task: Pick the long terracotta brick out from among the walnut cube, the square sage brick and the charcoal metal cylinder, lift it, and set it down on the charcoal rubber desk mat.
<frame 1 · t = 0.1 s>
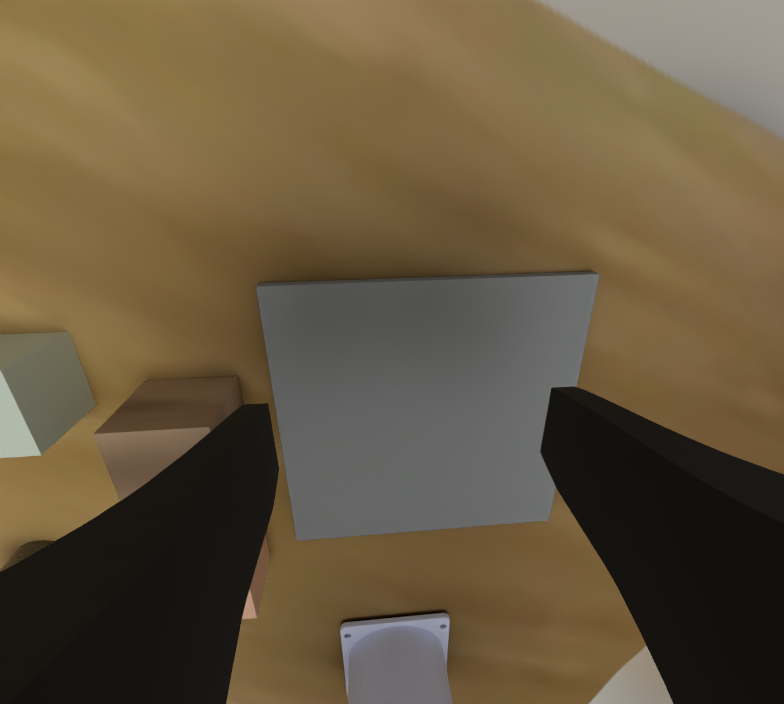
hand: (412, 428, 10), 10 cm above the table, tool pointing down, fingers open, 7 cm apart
metal cylinder: (52, 563, 24), on the table
terracotta brick: (230, 523, 24), on the table
walnut cube: (202, 414, 21), on the table
desk mat: (427, 418, 22), on the table
square sage brick: (40, 371, 19), on the table
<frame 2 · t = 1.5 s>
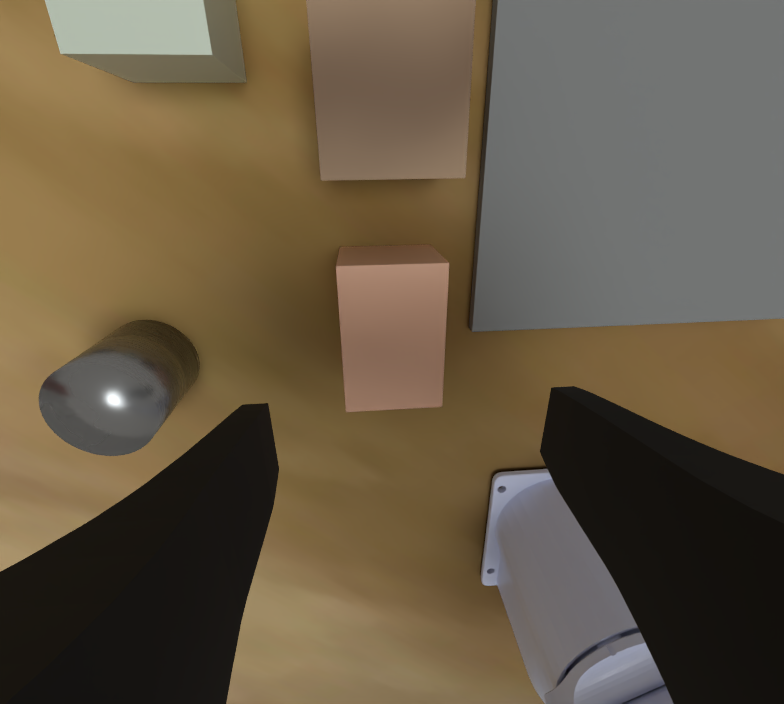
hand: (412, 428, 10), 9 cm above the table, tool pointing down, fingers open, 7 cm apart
metal cylinder: (155, 359, 19), on the table
terracotta brick: (386, 309, 19), on the table
walnut cube: (382, 114, 15), on the table
desk mat: (669, 140, 17), on the table
square sage brick: (178, 14, 14), on the table
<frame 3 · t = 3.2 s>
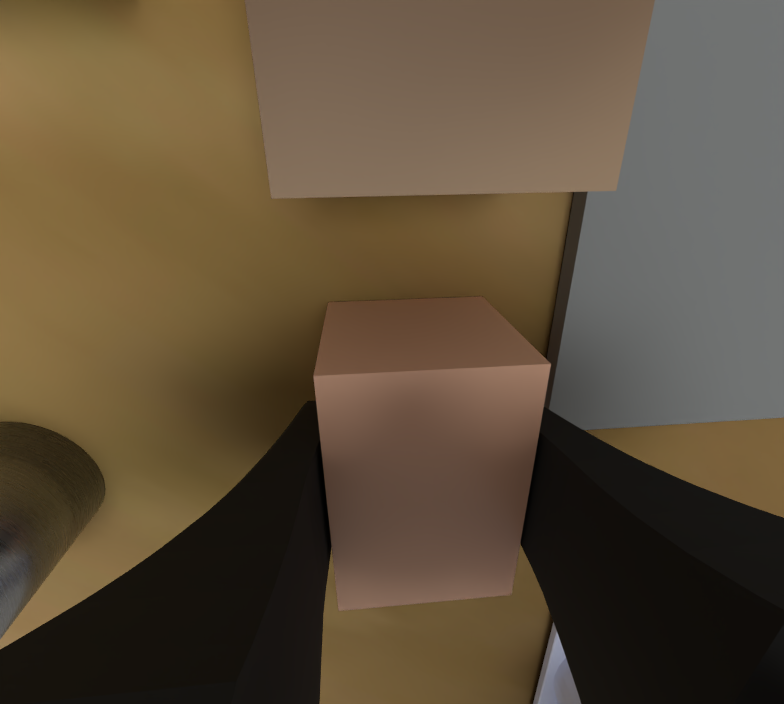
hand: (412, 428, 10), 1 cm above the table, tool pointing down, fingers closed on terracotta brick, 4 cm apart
metal cylinder: (30, 479, 12), on the table
terracotta brick: (406, 399, 11), on the table, touching gripper
walnut cube: (406, 65, 8), on the table
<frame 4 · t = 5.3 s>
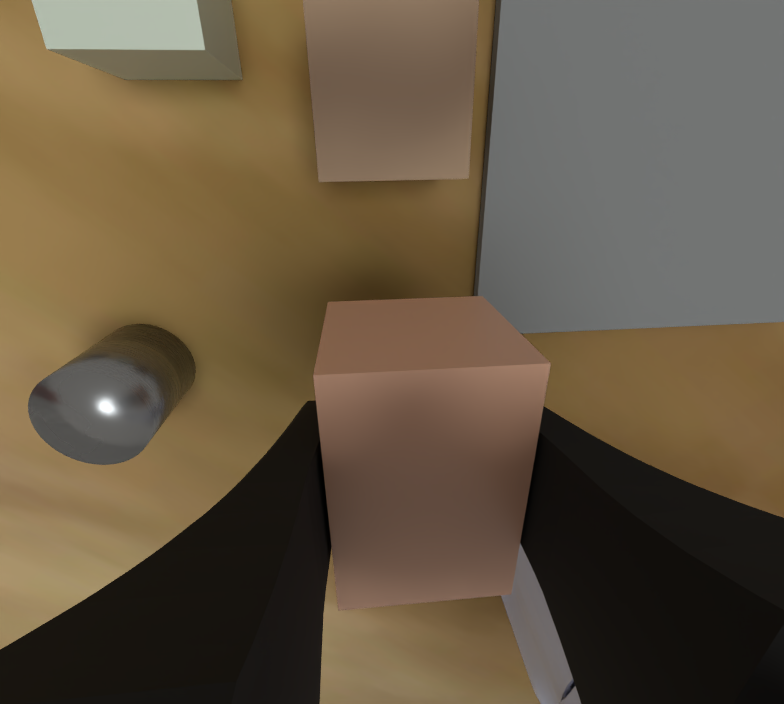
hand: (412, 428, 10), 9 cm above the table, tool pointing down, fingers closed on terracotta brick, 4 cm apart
metal cylinder: (149, 364, 18), on the table
terracotta brick: (406, 398, 11), point 7 cm above the table, touching gripper
walnut cube: (383, 112, 15), on the table
desk mat: (677, 139, 16), on the table
square sage brick: (171, 8, 13), on the table
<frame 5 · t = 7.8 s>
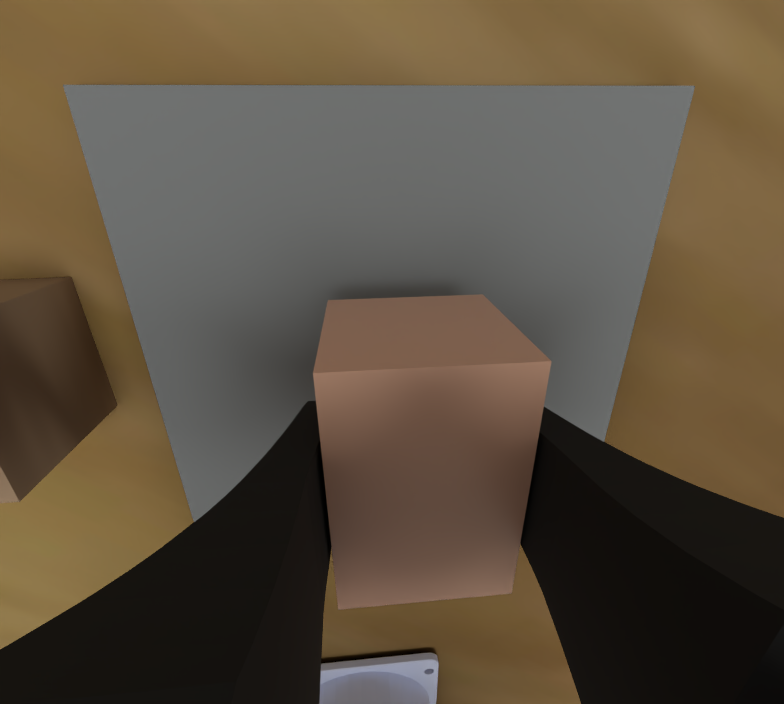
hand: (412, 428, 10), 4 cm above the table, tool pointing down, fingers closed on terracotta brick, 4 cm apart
terracotta brick: (406, 397, 11), point 3 cm above the table, touching gripper
walnut cube: (24, 348, 13), on the table
desk mat: (397, 360, 14), on the table
when the fingers open (3 cm above the table, at t = 8.5 s): terracotta brick drops 1 cm, resting on desk mat.
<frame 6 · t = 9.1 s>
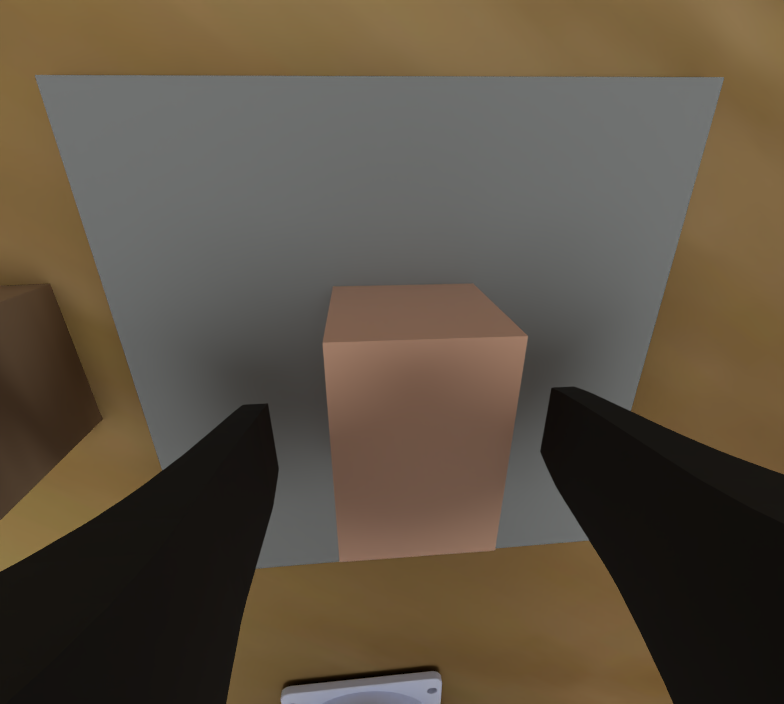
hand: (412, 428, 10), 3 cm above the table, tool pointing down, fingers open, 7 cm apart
terracotta brick: (402, 378, 13), point 1 cm above the table, touching desk mat
walnut cube: (1, 359, 12), on the table
desk mat: (399, 371, 13), on the table
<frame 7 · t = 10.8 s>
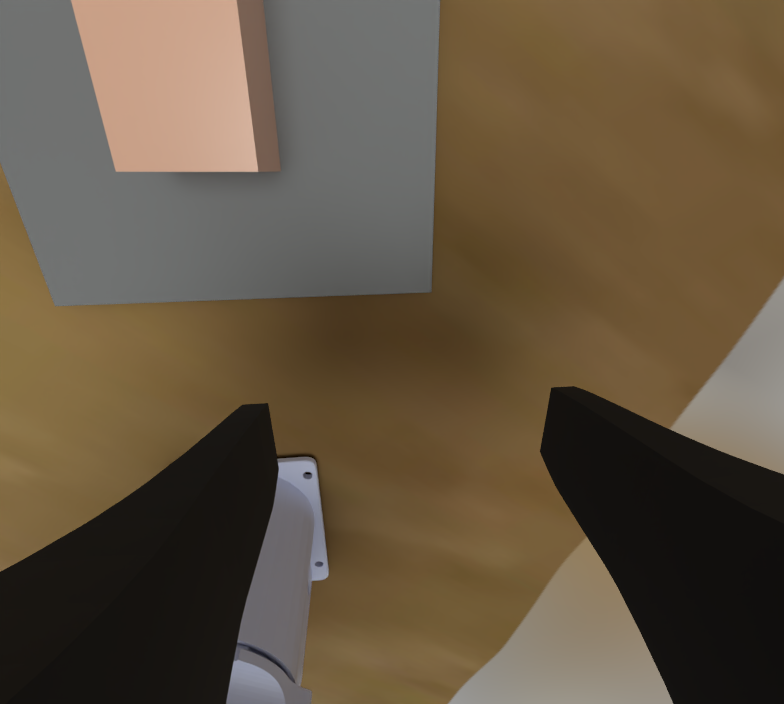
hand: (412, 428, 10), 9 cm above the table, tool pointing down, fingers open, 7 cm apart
terracotta brick: (213, 77, 14), point 1 cm above the table, touching desk mat
desk mat: (218, 82, 15), on the table
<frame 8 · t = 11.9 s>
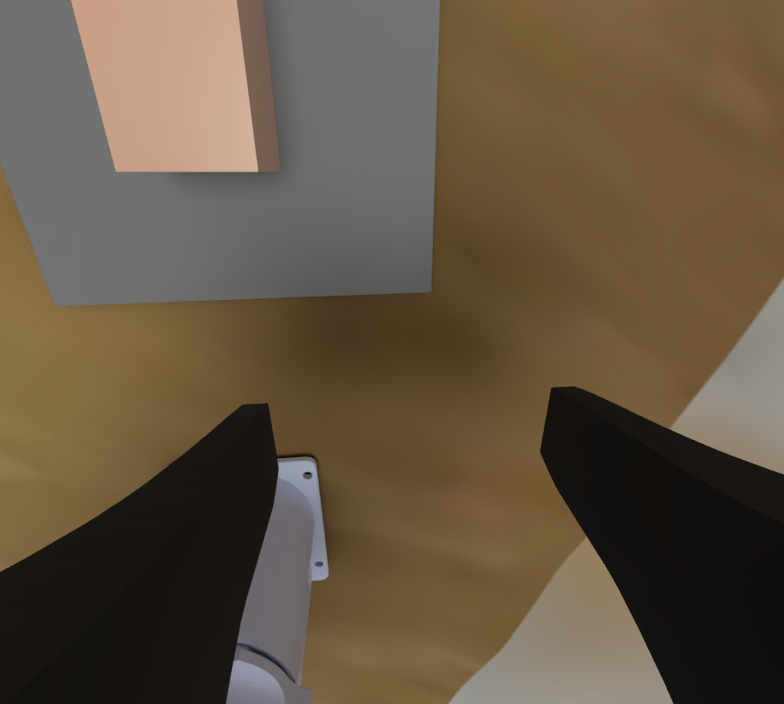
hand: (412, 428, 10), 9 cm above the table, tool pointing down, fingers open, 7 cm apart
terracotta brick: (213, 77, 14), point 1 cm above the table, touching desk mat
desk mat: (218, 82, 15), on the table
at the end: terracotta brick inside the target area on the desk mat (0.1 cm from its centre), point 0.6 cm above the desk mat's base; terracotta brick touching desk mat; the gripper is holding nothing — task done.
